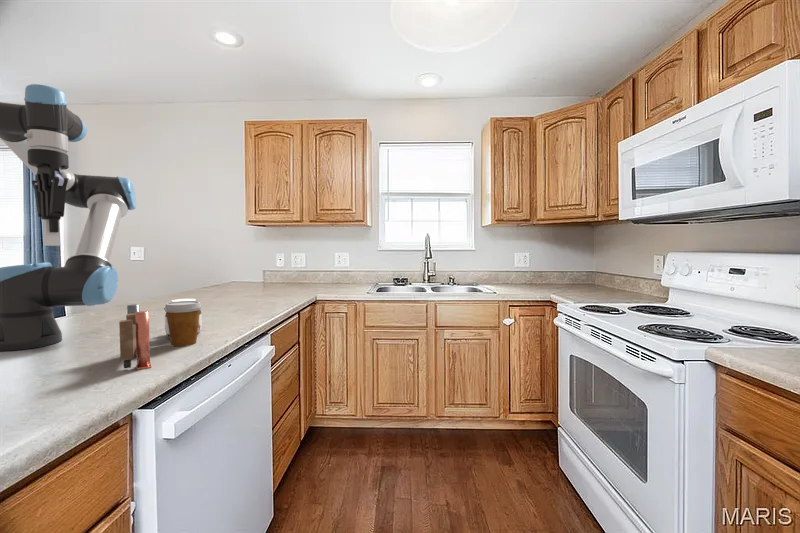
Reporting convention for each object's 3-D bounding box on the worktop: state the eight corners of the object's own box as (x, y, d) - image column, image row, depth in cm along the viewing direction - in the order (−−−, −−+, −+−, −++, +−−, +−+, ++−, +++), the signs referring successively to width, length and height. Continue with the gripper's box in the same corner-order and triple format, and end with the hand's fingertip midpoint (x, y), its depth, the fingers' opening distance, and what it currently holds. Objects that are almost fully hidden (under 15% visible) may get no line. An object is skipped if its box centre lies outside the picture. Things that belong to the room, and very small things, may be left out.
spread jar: (182, 341, 113) (181, 302, 113) (150, 339, 116) (149, 301, 115) (210, 332, 125) (209, 297, 125) (180, 331, 127) (179, 296, 127)
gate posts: (128, 354, 99) (126, 305, 99) (145, 351, 102) (144, 303, 101) (131, 370, 86) (129, 313, 85) (151, 367, 88) (149, 312, 88)
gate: (120, 369, 85) (119, 322, 85) (128, 355, 97) (127, 313, 96) (132, 368, 86) (131, 321, 86) (139, 354, 98) (137, 312, 97)
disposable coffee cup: (192, 338, 117) (192, 299, 116) (208, 342, 111) (207, 302, 111) (158, 344, 109) (157, 303, 109) (174, 349, 104) (173, 306, 103)
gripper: (16, 150, 94) (21, 245, 95) (40, 144, 88) (44, 245, 89) (55, 157, 101) (58, 245, 102) (79, 151, 95) (83, 245, 96)
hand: (52, 245), depth 96 cm, fingers closed
